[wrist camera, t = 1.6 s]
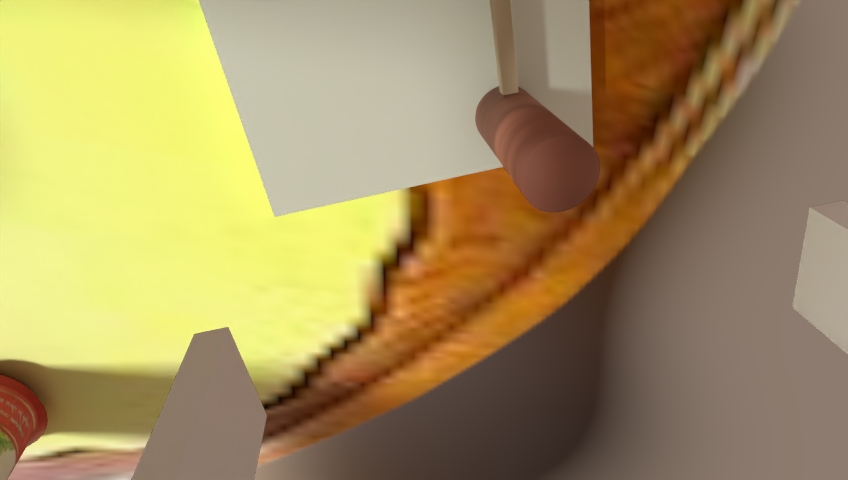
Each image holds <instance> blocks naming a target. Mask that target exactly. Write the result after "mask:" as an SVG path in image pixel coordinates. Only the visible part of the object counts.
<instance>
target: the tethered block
mask: <svg viewBox="0 0 848 480" xmlns="http://www.w3.org/2000/svg"><path fill="white" fill-rule="evenodd" d="M490 9H491V18H492V27H493V36H494V45H495V54H496V63H497V72H498V81H499V86H498V87H495V88H493V89H492V90H490V91H489V92H487V93H486V94H485V95H484V96H483V98H482V99H481V100H480V102H479V104H478V106H477V109H476V114H475V122H476V127H477V129H478V131H479V133H480V134H481V136H482V137H483V139H484V140H485V141H486V143H487V144H488V146H489V147H490V149H491V150H492V151H493V153H494V154H495V156H496V157H497V158H498V160H499V161H500V163H501V164H502V165H503V167H504V168H505V170H506V171H507V172H508V174H509V175H510V177H511V178H512V179H513V181H514V182H515V184H516V185H517V187H518V188H519V189H520V191H521V192H522V194H523V195H524V196H525V198H526V199H527V201H528V202H529V203H530V204H531V205H533V206H534V207H535V208H537V209H539V210H542V211H546V212H562V211H566V210H569V209H571V208H573V207H575V206H577V205H579V204H580V203H581V202H583V201H584V200H585V199H586V198H587V197H588V196H589V195H590V194H591V192H592V191H593V189H594V188H595V186H596V183H597V181H598V178H599V173H600V162H599V158H598V155H597V153H596V151H595V149H594V148H593V147H592V146H591V145H590V144H589V143H588V142H587V141H585V140H584V139H583V138H582V137H581V136H579V135H578V134H577V133H576V132H575V131H573V130H572V129H571V128H570V127H569V126H567V125H566V124H565V123H564V122H563V121H561V120H560V119H559V118H558V117H556V116H555V115H554V114H553V113H552V112H550V111H549V110H548V109H547V108H546V107H544V106H543V105H542V104H541V103H540V102H538V101H537V100H536V99H535V98H533V97H532V96H531V95H530V94H529V93H527V92H526V91H525V90H524V89H522V88H520V87H518V79H517V69H516V58H515V47H514V37H513V26H512V15H511V5H510V0H490Z"/></svg>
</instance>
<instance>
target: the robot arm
mask: <svg viewBox="0 0 848 480" xmlns="http://www.w3.org/2000/svg"><path fill="white" fill-rule="evenodd" d="M792 308H793V309H795V310H796V311H797V312H798V313H799V314H801V315H802V316H803V317H804V318H805V319H807V320H808V321H809V322H810V323H811V324H812V325H814V326H815V327H816V328H818V330H820V331H821V332H822V333H823V334H824V335H825V336H827V337H828V338H829V339H830V340H832V341H833V342H834V343H835V344H836V345H837V346H839V347H840V348H841V349H842V350H843V351H844V352H846V353H847V354H848V203H847V202H845V201H844V200H843V201H838V202H833V203H828V204H823V205H818V206H813V207H810V208H809V213H808V219H807V224H806V230H805V236H804V242H803V248H802V253H801V259H800V265H799V271H798V276H797V282H796V288H795V294H794V300H793V306H792ZM266 418H267V415H266V412H265V410H264V408H263V405H262V403H261V401H260V399H259V396H258V394H257V392H256V389H255V387H254V385H253V383H252V380H251V378H250V376H249V373H248V371H247V369H246V367H245V364H244V362H243V360H242V357H241V355H240V353H239V351H238V348H237V346H236V344H235V341H234V339H233V337H232V334H231V332H230V330H229V328H228V327H226V328H221V329H216V330H211V331H206V332H201V333H197V334H194V336H193V338H192V340H191V343H190V345H189V347H188V350H187V352H186V354H185V357H184V359H183V361H182V363H181V366H180V368H179V370H178V373H177V375H176V377H175V380H174V382H173V384H172V387H171V389H170V391H169V394H168V396H167V398H166V401H165V403H164V405H163V407H162V410H161V412H160V414H159V417H158V419H157V421H156V424H155V426H154V428H153V431H152V433H151V435H150V438H149V440H148V442H147V445H146V447H145V449H144V451H143V454H142V456H141V458H140V461H139V463H138V465H137V468H136V470H135V472H134V475H133V477H132V479H131V480H254V477H255V473H256V468H257V463H258V458H259V453H260V448H261V443H262V438H263V433H264V428H265V423H266Z"/></svg>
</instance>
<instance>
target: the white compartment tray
mask: <svg viewBox="0 0 848 480" xmlns="http://www.w3.org/2000/svg"><path fill="white" fill-rule="evenodd" d="M199 2H200V5H201V8H202V11H203V14H204V16H205V19H206V22H207V25H208V28H209V31H210V34H211V36H212V39H213V42H214V45H215V48H216V51H217V54H218V56H219V59H220V62H221V65H222V68H223V71H224V73H225V76H226V79H227V82H228V85H229V88H230V91H231V93H232V96H233V99H234V102H235V105H236V108H237V111H238V113H239V116H240V119H241V122H242V125H243V128H244V131H245V133H246V136H247V139H248V142H249V145H250V148H251V150H252V153H253V156H254V159H255V162H256V165H257V168H258V170H259V173H260V176H261V179H262V182H263V185H264V188H265V190H266V193H267V196H268V199H269V202H270V205H271V207H272V210H273V213H274V216H275V217H276V216H280V215H285V214H289V213H294V212H298V211H303V210H308V209H312V208H317V207H321V206H326V205H330V204H335V203H340V202H344V201H349V200H353V199H358V198H362V197H367V196H372V195H376V194H381V193H385V192H390V191H394V190H399V189H403V188H408V187H413V186H417V185H422V184H426V183H431V182H435V181H440V180H445V179H449V178H454V177H458V176H463V175H467V174H472V173H477V172H481V171H486V170H490V169H495V168H499V167H503V165H502V164H501V163H500V161H499V160H498V158H497V157H496V156H495V154H494V153H493V151H492V150H491V149H490V147H489V146H488V144H487V143H486V141H485V140H484V139H483V137H482V136H481V134H480V133H479V131H478V129H477V127H476V122H475V114H476V109H477V106H478V104H479V102H480V100H481V99H482V98H483V96H484V95H485V94H486V93H487V92H489V91H490V90H492V89H493V88H495V87H498V86H499V81H498V72H497V63H496V54H495V45H494V36H493V27H492V18H491V9H490V0H199ZM510 5H511V15H512V26H513V37H514V47H515V58H516V69H517V79H518V87H520V88H522V89H524V90H525V91H526V92H527V93H529V94H530V95H531V96H532V97H533V98H535V99H536V100H537V101H538V102H540V103H541V104H542V105H543V106H544V107H546V108H547V109H548V110H549V111H550V112H552V113H553V114H554V115H555V116H556V117H558V118H559V119H560V120H561V121H563V122H564V123H565V124H566V125H567V126H569V127H570V128H571V129H572V130H573V131H575V132H576V133H577V134H578V135H579V136H581V137H582V138H583V139H584V140H585V141H587V142H588V143H589V144H590V145H591V146H592V147H593V119H592V84H591V49H590V14H589V0H510Z"/></svg>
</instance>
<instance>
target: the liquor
mask: <svg viewBox="0 0 848 480" xmlns="http://www.w3.org/2000/svg"><path fill="white" fill-rule="evenodd" d="M46 426H47V413H46V411H45V408H44V406H43V404H42V403H41V402H40V400H39V399H38V398H37V396H36V395H35V394H34V393H33V392H32V391H31V390H30V389H29V388H28V387H27V386H26V385H25V384H23V383H22V382H20V381H18V380H16V379H14V378H11V377H8V376H5V375H0V480H7V479H8V477H9V476H10V474H11V472H12V470H13V469H14V467H15V465H16V464H17V462H18V460H19V458H20V457H21V455H22V453H23V452H24V450H25V448H26V447H27V446H29V445H31V444H32V443H34V442H35V441H37V440H38V439H39V438H40V437H41V436H42V435H43V433H44V431H45V429H46Z"/></svg>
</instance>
